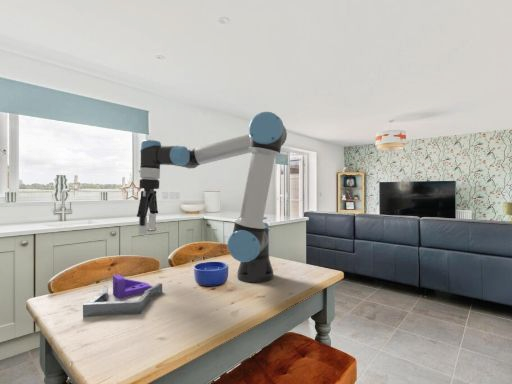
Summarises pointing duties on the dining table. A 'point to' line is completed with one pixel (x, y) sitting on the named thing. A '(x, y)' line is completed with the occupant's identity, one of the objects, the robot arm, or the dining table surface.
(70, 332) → the dining table surface
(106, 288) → the spouted tray
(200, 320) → the dining table surface
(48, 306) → the dining table surface
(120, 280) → the bracket
